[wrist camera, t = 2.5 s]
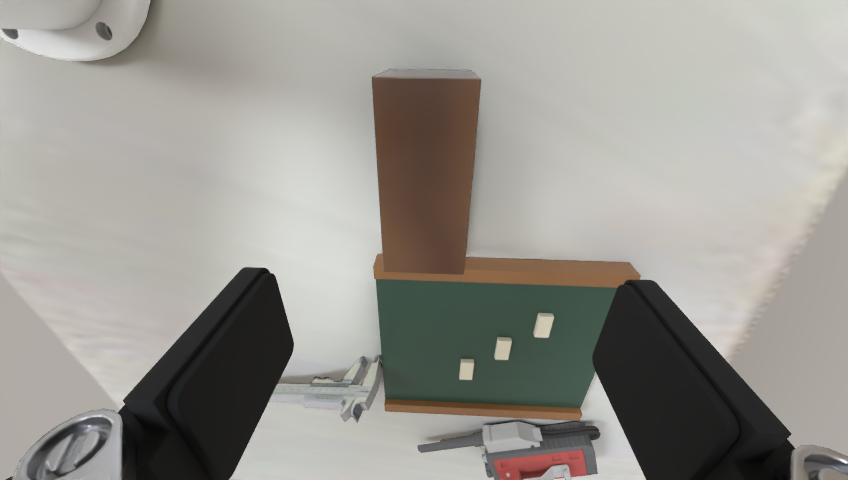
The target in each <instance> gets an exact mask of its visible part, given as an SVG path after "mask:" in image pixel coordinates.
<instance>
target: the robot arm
mask: <svg viewBox="0 0 848 480" xmlns="http://www.w3.org/2000/svg"><path fill="white" fill-rule="evenodd" d="M150 1H151V0H0V37H1V38H2V39H4V40H6V41H7V42H9V43H12V44H14V45H16V46H18V47H20V48H22V49H24V50H26V51H28V52H31V53H34V54H37V55H40V56H44V57H47V58H50V59H55V60H63V61H72V62H75V61H95V60H99V59H104V58H108V57H112V56H113V55H115V54H117V53H119V52H121V51H122V50H124V49H126V48H127V47H128V46H129V45H130V44H131V43H132V41H133V40H134V39H135V38H136V37H137V36H138V34H139V32H140V31H141V29H142V27H143V25H144V23H145V21H146V18H147V14H148V10H149V6H150ZM293 347H294V342H293V338H292V334H291V331H290V327H289V323H288V320H287V316H286V313H285V309H284V305H283V302H282V298H281V295H280V291H279V287H278V284H277V280H276V277H275V275H274V274H272V273H270V272H269V270H268V269H266V268H249V267H246V268H243V269H242V270H240V271H239V273H238V274H237V275H236V276H235V277H234V278H233V279H232V280H231V281H230V282H229V284H228V285H227V286H226V287H225V288H224V289H223V290H222V291H221V292H220V294H219V295H218V296H217V297H216V298H215V299H214V300H213V301H212V302H211V303H210V305H209V306H208V307H207V308H206V309H205V310H204V311H203V312H202V313H201V315H200V316H199V317H198V318H197V319H196V320H195V321H194V322H193V323H192V324H191V326H190V327H189V328H188V329H187V330H186V331H185V332H184V333H183V334H182V336H181V337H180V338H179V339H178V340H177V341H176V342H175V343H174V344H173V346H172V347H171V348H170V349H169V350H168V351H167V352H166V353H165V354H164V355H163V357H162V358H161V359H160V360H159V361H158V362H157V363H156V364H155V365H154V367H153V368H152V369H151V370H150V371H149V372H148V373H147V374H146V375H145V376H144V378H143V379H142V380H141V381H140V382H139V383H138V384H137V385H136V386H135V388H134V389H133V390H132V391H131V392H130V393H129V394H128V395H127V396H126V397H125V399H124V400H123V402H124V403H125V405H124V406H123V407H122V409H121V410H120V411H119V412H118V413H117V412H116V411H114V410H109V409H98V410H92V411H88V412H85V413H83V414H80V415H77V416H75V417H73V418H71V419H69V420H67V421H65V422H63V423H61V424H59V425H58V426H56V427H55V428H54V429H52V430H51V431H49V432H48V433H46V434H45V435H44V436H42V437H41V438H40V439H39V440H38V441H37V442H36V443H35V444H34V445H33V446H31V447H30V448H29V450H28V451H27V452H26V453H25V455H24V456H23V457H22V458H21V460H20V461H19V463H18V465H17V468H16V469H15V471H14V474H13V476H12V477H10V478H8V479H6V480H229V479H230V477H231V476H232V474H233V473H234V471H235V469H236V467H237V465H238V463H239V461H240V459H241V457H242V455H243V453H244V451H245V449H246V447H247V444H248V442H249V440H250V438H251V436H252V434H253V432H254V430H255V428H256V426H257V424H258V422H259V420H260V418H261V416H262V414H263V412H264V410H265V408H266V406H267V404H268V402H269V400H270V398H271V396H272V394H273V392H274V390H275V388H276V386H277V383H278V381H279V379H280V377H281V375H282V373H283V371H284V369H285V367H286V365H287V363H288V361H289V359H290V357H291V355H292V352H293ZM592 362H593V366H594V369H595V371H596V373H597V375H598V377H599V379H600V381H601V384H602V386H603V388H604V390H605V392H606V394H607V396H608V399H609V401H610V403H611V405H612V407H613V409H614V411H615V414H616V416H617V418H618V420H619V422H620V424H621V426H622V429H623V431H624V433H625V435H626V437H627V439H628V441H629V444H630V446H631V448H632V450H633V452H634V454H635V456H636V459H637V461H638V463H639V465H640V467H641V469H642V471H643V474H644V476H645V478H646V480H848V456H845V455H843V454H841V453H838V452H836V451H833V450H831V449H828V448H824V447H820V446H815V445H801V446H800V447H798V448H796V449H795V448H794V446H793V445H792V444H791V443H790V442H789V441H788V440H787V438H788V437H789V436H790V435H791V433H790V432H789V430H788V429H787V428H786V427H785V426H784V425H783V424H782V423H781V421H780V420H779V419H778V418H777V417H776V416H775V415H774V414H773V413H772V412H771V411H770V409H769V408H768V407H767V406H766V405H765V404H764V403H763V401H762V400H761V399H760V398H759V397H758V396H757V395H756V394H755V392H754V391H753V390H752V389H751V388H750V387H749V386H748V385H747V384H746V383H745V381H744V380H743V379H742V378H741V377H740V376H739V375H738V374H737V372H736V371H735V370H734V369H733V368H732V367H731V366H730V365H729V363H728V362H727V361H726V360H725V359H724V358H723V357H722V356H721V355H720V353H719V352H718V351H717V350H716V349H715V348H714V347H713V346H712V345H711V343H710V342H709V341H708V340H707V339H706V338H705V337H704V336H703V334H702V333H701V332H700V331H699V330H698V329H697V328H696V327H695V326H694V324H693V323H692V322H691V321H690V320H689V319H688V318H687V317H686V315H685V314H684V313H683V312H682V311H681V310H680V309H679V308H678V307H677V305H676V304H675V303H674V302H673V301H672V300H671V299H670V298H669V297H668V295H667V294H666V293H665V292H664V291H663V290H662V289H661V288H660V286H659V285H658V284H657V283H656V282H654V281H652V280H631V279H630V280H627V281H626V282H625V283H624V284H623V285H619V286H618V288H617V290H616V293H615V295H614V298H613V301H612V303H611V306H610V309H609V311H608V314H607V317H606V319H605V322H604V325H603V327H602V330H601V333H600V335H599V338H598V341H597V343H596V346H595V349H594V352H593V355H592Z"/></svg>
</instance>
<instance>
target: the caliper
mask: <svg viewBox="0 0 848 480" xmlns="http://www.w3.org/2000/svg"><path fill="white" fill-rule="evenodd" d="M366 365H367V361H366V360H365V358H364V356H363V357H361V358H360V359H358V360H357V361H356V363H355V364H354V365H353V366H352V368H351V369H350V370H349V371H348V373H347V374H346V375H345V376H344V377H343V379H342V380H341V381H335V380H334V379H331V378H329V377H325V378H320V377H314V378H313V380H312V381H311V383H310V384H285V383H277V386H276V388H275V390H274V392H273V394H272V396H271V398H270V400H269V402H282V403H302V404H303V406H304V407H305V408H317V409H332V410H342V411H341V413H340V416H341V417H342V419H343V420H344V421H345V422H346V421H347V420H348V419H349V418H350V417H351V416H352V417H353V418H354V420H355V421H356V422H358V420H359V418H360V416H361V413H362V411H363V410H369V408H370V406H371V404H372V402H373V400H374V398H375V395H376V393H377V391H378V388H379V382H380V377H381V372H382V363H381V361H380V359H379V358H378V357H375V358H374V360H373V362H372V364H371V366H370V368H369V370H368V372H367V374H366V376H365V378H364V380H363V382H362V384H361V386H360V385H358V383H359V381H360V379H361V377H362V375H363V373H364V371H365V370H364V369H365V367H366Z"/></svg>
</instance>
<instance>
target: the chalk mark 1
mask: <svg viewBox="0 0 848 480" xmlns="http://www.w3.org/2000/svg"><path fill="white" fill-rule="evenodd" d="M473 369H474V359H461V363H460V374H459V379H460V380H472V377H473Z"/></svg>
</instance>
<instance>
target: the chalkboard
mask: <svg viewBox="0 0 848 480" xmlns="http://www.w3.org/2000/svg"><path fill="white" fill-rule="evenodd" d="M373 269H374V278H375V279H376V287H377V299H378V312H379V325H380V338H381V351H382V363H383V376H384V389H385V404H384V405H385V411H390V412H410V413H431V414H451V415H472V416H492V417H513V418H533V419H553V420H574V421H579V420H580V418H581V416H582V412H581V409H580V407H581V405H582V403H583V400H584V398H585V395H586V393H587V391H588V388H589V386H590V383H591V381H592V378H593V376H594V374H595V369H594V366H593V362H592V355H593V352H594V349H595V346H596V343H597V341H598V338H599V335H600V333H601V330H602V327H603V325H604V322H605V319H606V317H607V314H608V311H609V309H610V306H611V303H612V301H613V298H614V295H615V293H616V290H617V288H618V286H619V285H623V284H624V283H625V282H626V281H627V280H630V279H631V280H639V279H640V277H641V276H640V274H639V273H638V272H637V271H636V270H635V269H634V268H633V266H632V265H631V264H630V263H624V262H594V261H565V260H535V259H505V258H475V257H465V268H464V275H456V274H427V273H399V272H384V266H383V254H377V256H376V260H375V263H374V266H373ZM538 313H553V316H554V320H553V323H552V327H551V330H550V334H549V337H548V338H539V337H534V334H533V332H534V328H535V324H536V320H537V316H538ZM497 337H510V338H511V340H512V344H511V349H510V353H509V358H508V360H495V356H494V354H495V349H496V343H497ZM461 359H474V369H473V377H472V380H460V379H459V374H460V363H461Z"/></svg>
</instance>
